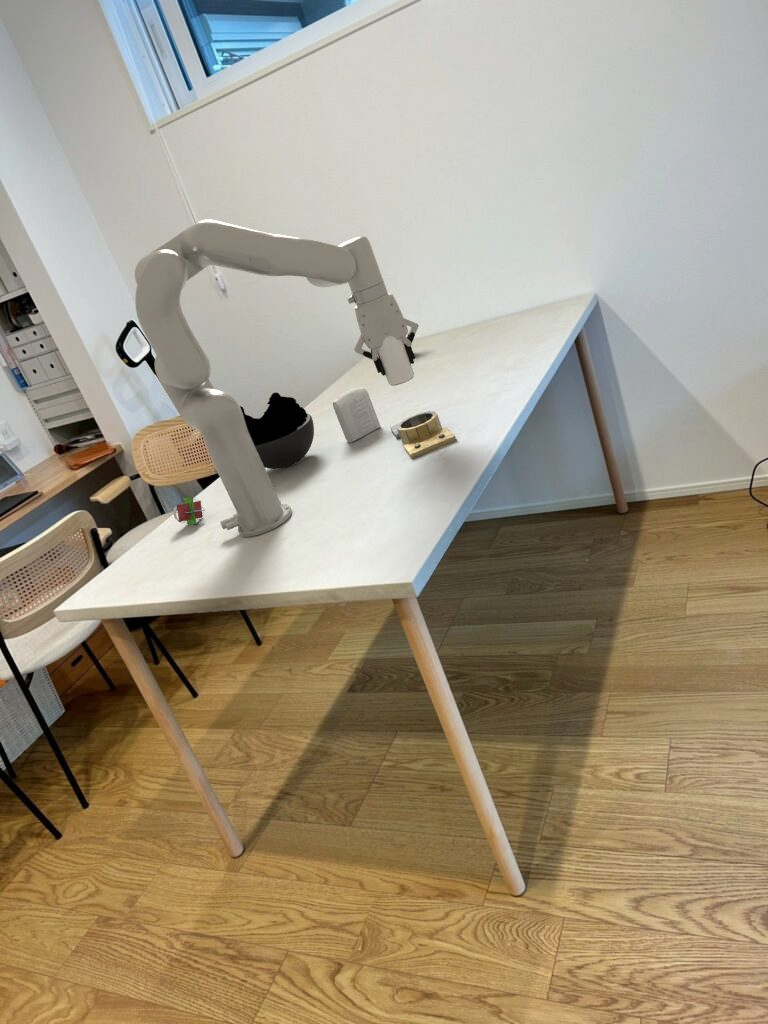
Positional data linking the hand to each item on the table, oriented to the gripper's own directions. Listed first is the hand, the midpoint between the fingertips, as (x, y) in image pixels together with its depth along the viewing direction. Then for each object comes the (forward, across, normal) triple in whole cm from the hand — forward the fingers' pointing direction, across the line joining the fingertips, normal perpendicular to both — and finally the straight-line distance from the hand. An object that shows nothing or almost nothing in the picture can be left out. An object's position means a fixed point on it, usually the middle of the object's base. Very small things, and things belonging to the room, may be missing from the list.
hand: (397, 368), depth 183 cm
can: (+3, 0, 0) cm, 3 cm away
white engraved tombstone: (+18, -12, +20) cm, 29 cm away
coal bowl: (+18, -33, +20) cm, 42 cm away
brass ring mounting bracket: (+18, 0, 0) cm, 18 cm away
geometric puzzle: (+18, -59, +5) cm, 62 cm away
